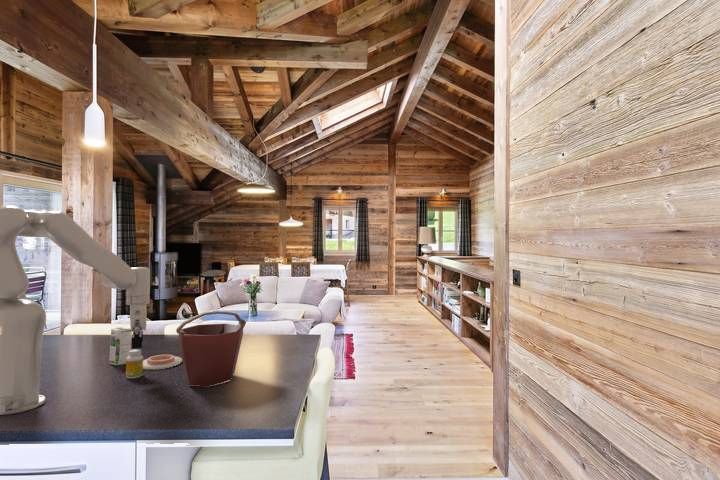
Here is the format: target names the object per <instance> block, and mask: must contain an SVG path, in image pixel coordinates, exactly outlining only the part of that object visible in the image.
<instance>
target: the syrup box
mask: <svg viewBox="0 0 720 480" xmlns="http://www.w3.org/2000/svg"><path fill="white" fill-rule="evenodd" d="M132 338H133V332H132V331H131V327H124V326H121V327H120V326H119V327H115V328H111V331H110V341H109V345H110V346H109V356H108V357H109V358H108V359H109V360H108V364H109V365H112V366H113V365H114V366H115V367H116V366H118V367H119V366H121V365H125V364H126V359H127V357H128V356H130V355H129V351H130V350H132Z"/></svg>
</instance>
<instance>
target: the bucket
mask: <svg viewBox="0 0 720 480" xmlns="http://www.w3.org/2000/svg"><path fill="white" fill-rule="evenodd" d="M217 314H218V315H228V316H234V318H235V319H236V321H238V324H230V323H226V322H225V323H208V324H207V323H205V324H196V325H191V326H188V327H185V326H186V325H187V324H190V323H191V322H193V321H195V320H198V319H200V318H202V317H205V316H209V315H217ZM246 324H247V321H246V320H245V319H244V318H241V316H240V315H239V313H236V312H230V311H218V310H217V311H216V310H215V311H207V312H202V313H199V314H197V315H195V316H192V317H190V318H188V319H187V320H184V321H182V323H181V324H180V325H179V326H178V327H176V329H175V331H176V333H177V334H178V341H179V347H180V355H181V358H182V365H183V371H184V378H185V381H186V383H187V382H188V383H187V385H188V384H189V385H195V386H196V385H200V386H210V385H214V384H217V383H221V382H224V381H227V380H230V379H231V378H232V376H233V374H234V375H235V371H236V367H237V363H238V358H239V355H240V348H241V344H242V340H243V337H244V328H245V326H246ZM184 327H185V328H184ZM233 377H234V376H233ZM232 379H233V378H232ZM232 379H231V380H232ZM189 385H188V386H189Z"/></svg>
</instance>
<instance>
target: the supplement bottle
mask: <svg viewBox="0 0 720 480" xmlns="http://www.w3.org/2000/svg"><path fill="white" fill-rule="evenodd" d="M129 355H130V356H128V357H127V359H126V365H125V378H127V379H138V378H140V377H142V376H143V370H144V369H143V360H144V356H143V355H142V348H137V349H131V350H130V351H129Z"/></svg>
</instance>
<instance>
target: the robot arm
mask: <svg viewBox="0 0 720 480" xmlns="http://www.w3.org/2000/svg"><path fill="white" fill-rule="evenodd" d="M18 237H25V238H26V237H27V238H29V237H30V238H48V239H50V240H51V241H52V242H53V243H54V244H56V246H58V247H59V248H60V249H61V250H63V252H65V253H66V254H67V255H68V256H69V257H70V258H72V259H73V260H75V261H77V262H79V263H81V264H83V265H86V266H88V267H91V268H92V269H94V270H96V271H98V272H99V273H100V275H99V282H100V284H101V285H102V286H104V287H106V288H108V289H116V290H124V291H125V290H126V295H125V297H126V298H125V299H126V301H125V302H126V303H125V305H127V306H129V323H130V325H129V326H130V328H131V331H132V337H131V350H133V349H142V348H143V341H144V332H145V331H146V330H147V315H148V314H147V313H148V311H147V305H148V304H150V299H151V298H150V297H151V296H150V292H151V291H150V289H151V288H150V287H151V286H150V285H151V270H150V268H149V267H146V266H136V267H135V266H134V267H131V266H130V265H129V264H127V262H125V260H123V259H122V258H121V257H120V256H118V255H117V254H115V253H114V252H112V251H111V250H110V249H108V248H107V247H106V246H104V245H102V244H101V243H99V242H98V241H97V240H96V239H94V238H93V237H92V236H91V235H90V234H89V233H88V232H86V231H85V229H83V227H81V226H80V224H78V223H77V222H76V221H75V220H73V218H72V217H70V216H69V215H68V214H66V213H65V212H62V211H59V210H58V211H57V210H56V211H55V210H51V211H35V210H34V211H32V210H24V209H22V208H21V207H18V206H15V205H1V206H0V328H1V334H0V416H4V415H13V414H17V413H22V412H27V411H29V410H33V409H36V408H38V407H40V406H42V405H43V404H44V403H45V402H46V396H45V395H43V394H40V386H41V385H40V384H41V366H42V365H41V364H42V349H43V348H42V345H43V336H44V330H45V326H46V322H47V315H46V310H45V308H44V307H43V306H42V305H41V304H40V303H38V302H36V301H34V300H30V299H28V297H27V295H26V292H27V291H28V289H29V286H30V282H29V281H30V280H29V277H28V275H27V273H26V271H25V269H24V266H23V264H22V261H21V259H20V257H19V254H18V251H17V248H16V247H17V246H16V240H17V238H18Z"/></svg>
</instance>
